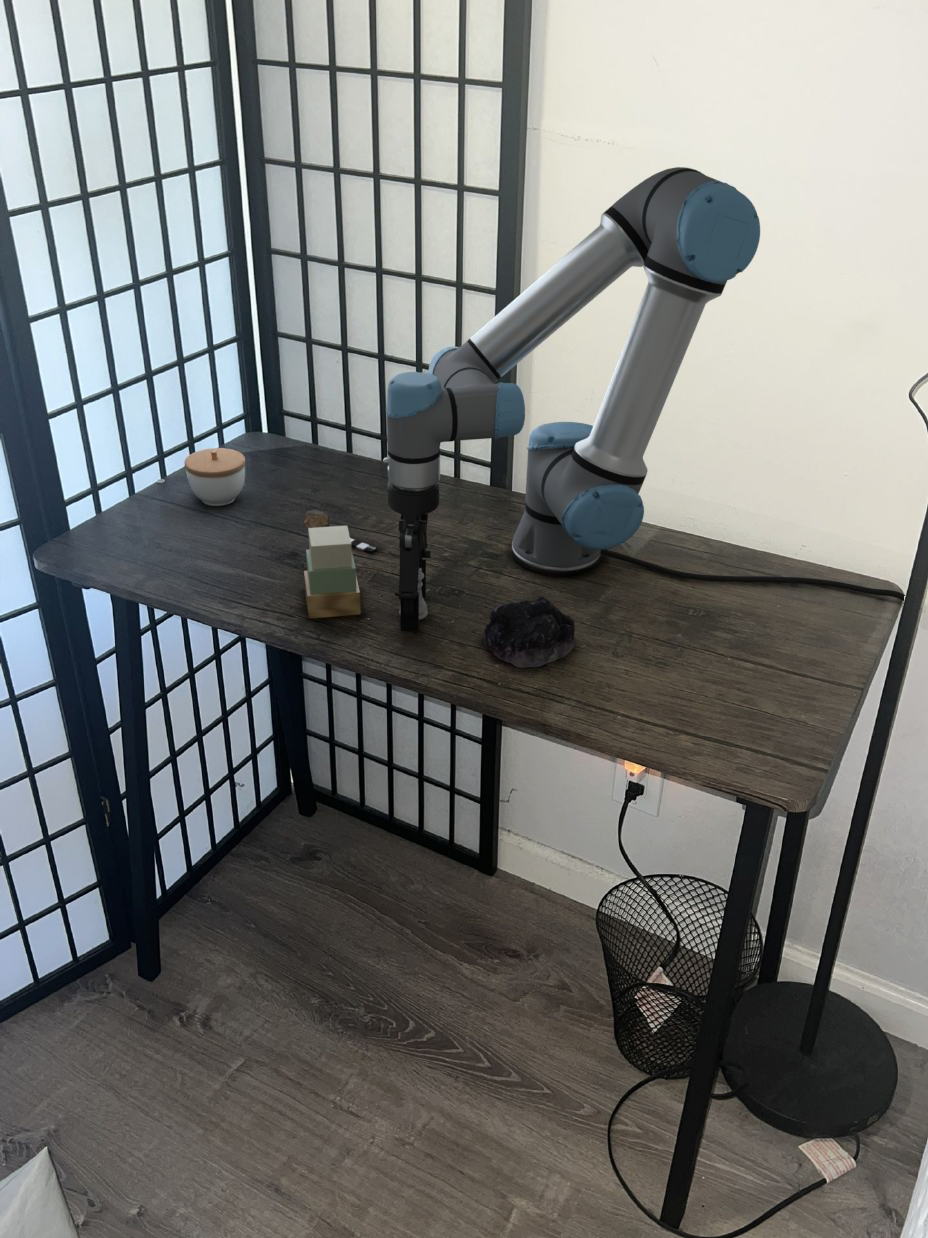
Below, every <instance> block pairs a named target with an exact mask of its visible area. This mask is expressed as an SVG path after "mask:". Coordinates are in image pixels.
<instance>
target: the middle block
mask: <svg viewBox="0 0 928 1238" xmlns="http://www.w3.org/2000/svg"><path fill="white" fill-rule="evenodd" d="M305 555H306V571H307V573H308V580H309V587H310V594H322V593H335V592H349V591H356V576H357V568H356V564H355V559H354V554H353V553H352V567H342V568H328V569H314V570H313V569H312V564H311V557H310V551H309V549H305Z"/></svg>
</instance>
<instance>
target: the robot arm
mask: <svg viewBox="0 0 928 1238" xmlns="http://www.w3.org/2000/svg"><path fill="white" fill-rule="evenodd" d="M760 239H761V222H760V217H759V215H758V212H757V209H756V207H755V205H754V203H753V202H752V201H751V200H750V198H749V197H747V196H746V195H745V194H744V193H743V192H741V191H739V190H738V189H737V188H736V187H735V186H734V185H731V184H728V182H724V181H720V180H718V179H717V178H713V177H710V176H708V175H706V174H705V173H703V172H701V171H699V170H697V169H694V168H691V167H685V166H684V167H683V166H675V167H670V168H666V169H663V170H660V171H659V172H657V173H654V174H652V175H651V176H649V177H647V178H645V179H644V180H643V181H641V182H639V183H638V184H637V185H635V186H634V187H632V188H631V189H630V190H628V191H627V192H626V193H625V194H624V195H623V196H621V197H620V198H618V200H616V201H615V202H614V203H613V204H612V205H611V206H610V207H608V208H607V209H606V210H605V211H604V212H603V213H601V214H600V221H599V225H598V226H597V227H596V228H595V229H594V230H593V231H592V232H590V233H589V234H588V235H587V236H586V237H585V238H583V239H582V240H581V241H580V242H579V243H578V244H577V245H575V246H574V247H573V248H571V250H569V251H568V252H567V253H566V254H565V255H564V256H563V257H562V258H561V259H559V260H558V261H556V262H555V264H554V265H553V266H551V267H550V268H548V269H547V271H545V272H544V273H543V274H542V275H541V276H540V277H539V278H538V279H536V280H535V281H534V282H533V283H532V284H531V285H529V286H527V288H526V289H525V290H524V291H522V293H520V294H519V295H518V296H517V297H516V298H515V299H513V300H512V301H510V303H509V304H507V305H506V307H504V308H502V310H501V311H499V312H498V313H497V314H496V315H494V317H493V318H491V319H490V320H489V321H488V322H487V323H485V324H484V325H483V326H482V327H481V328H480V329H479V330H478V331H476V332H475V333H474V334H473V335H472V336H470V338H469V339H468V340H466V341H465V342H464V343H462V345H460V346H447V347H446V348H445V347H444V348H442V349H440V350H439V351H437V352H436V353H435V354H434V355H433V357H432V358H431V361H430V362H429V365H428V372H425V371H423V372H418V371H406V372H402V373H398V374H396V375H395V376H393V377H391V378H390V380H389V381H388V384H387V387H386V389H387V391H386V406H385V412H386V438H387V439H386V443H387V444H386V445H387V450H386V451H387V457H384V458H383V460H382V463H383V464H384V465H386V466H387V479H388V481H387V505H388V507H389V508H390V509H391V510H392V511H393V512H395V513H398V514H400V519H398V531H399V538H398V540H399V545H398V546H399V575H398V576H399V578H398V580H399V581H398V584H399V585H398V591H395V592H394V596H395V597H398V599H399V600H400V601H399V611H400V614H399V615H400V618H399V620H400V621H399V623H400V624H399V625H400V632H407V633H419V631H420V621H419V593H418V573H419V569H420V568H421V569H422V573H423V574H424V578H423V579H422V580H421V582H422V583H423V585H422V587H421V590H422V597H423V599H425V598H426V596H427V592H426V591H427V559H431V550H426V549H427V547H429V546H428V545H429V544H428V535H427V533H428V522H429V521H428V520H429V514H431V513H432V512H434V511H435V510H437V508H439V505H440V482H439V481H440V479H441V443H447V442H449V443H450V442H459V441H472V440H473V441H474V440H489V439H495V440H498V439H499V438H505V437H513V436H517V435H518V434H520V433H521V432H522V430H523V428H524V425H525V420H526V405H525V403H526V402H525V398H524V394H523V392H522V389H521V388H520V386H519V385H518V384H516V383H514V382H510V383H509V382H502V381H501V382H498V381H499V380H500V379H502V377H503V376H504V375H506V374H507V373H508V372H509V371H511V369H513V368H514V367H515V366H516V365H517V364H519V363H520V362H521V361H522V360H523V359H525V358H526V357H527V356H528V355H530V354H531V353H532V352H533V351H534V350H535V349H536V348H538V347H539V346H540V345H541V344H543V342H544V341H546V340H547V339H548V338H549V337H550V336H552V335H553V334H555V332H556V331H558V330H559V329H560V328H561V327H562V326H563V325H565V324H566V323H567V322H568V321H570V319H572V318H573V317H574V316H575V315H576V314H578V313H579V312H580V311H581V310H582V309H583V308H585V307H586V306H587V305H588V304H589V303H591V302H592V301H593V300H594V299H596V298H597V297H598V296H599V295H600V294H602V292H604V291H605V290H606V289H607V288H608V287H609V286H611V285H612V284H613V283H614V282H615V281H616V280H618V279H619V278H620V277H621V276H622V275H624V274H625V273H626V272H628V270H630V269H631V268H633V267H636V268H637V267H638V268H643V270H644V272H645V275H646V277H647V281H648V283H647V285H646V288H645V291H644V293H643V296H642V298H641V301H640V303H639V306H638V309H637V311H636V314H635V315H634V319H633V322H632V324H631V327H630V329H629V332H628V335H627V337H626V340H625V342H624V345H623V347H622V350H621V353H620V355H619V357H618V361H617V363H616V366H615V368H614V371H613V373H612V376H611V379H610V381H609V383H608V387H607V388H606V391H605V394H604V397H603V400H602V401H601V404H600V407H599V410H598V412H597V414H596V418H595V420H594V422H593V425H591V424H589V423H584V422H577V421H556V422H547V423H543V424H541V425H538V426H536V427H534V428H533V429H532V430H531V432H530V434H529V437H528V439H529V440H528V446H527V447H526V450H527V460H526V461H527V463H526V464H527V465H526V481H525V482H526V483H525V502H524V512H523V513H522V517H521V519H520V521H519V524H518V526H517V528H516V530H515V533H514V535H513V538H512V542H511V556H512V558H513V560H515V562H516V563H517V564H518V565H520V566H522V567H523V568H525V569H526V570H529V571H530V572H531V571H532V572H535V573H538V574H542V575H546V576H555V577H566V576H567V577H568V576H576V575H580V574H583V573H587V572H590V571H591V570H593V569H595V568H596V567H597V566H598V565H599V564H600V563H601V560H602V556H607V557H610V558H612V559H617V560H620V561H623V562H627V563H628V564H633V565H636V566H639V567H642V568H646V569H649V570H652V571H655V572H658V573H661V574H664V575H668V576H670V577H671V576H672V577H675V578H676V577H677V578H681V579H686V580H694V581H702V582H721V583H723V582H724V583H773V584H774V583H776V584H800V585H801V584H802V585H815V586H823V587H830V588H837V589H843V590H848V591H852V592H858V593H861V594H866V595H873V596H884V597H885V596H886V597H892V598H896V599H898V600H901V601H902V602H903V601H904V596H905V595H906V594H904V593H902V592H900V591H897V590H893V589H883V588H872V587H866V586H862V585H857V584H852V583H847V582H843V581H842V582H841V581H836V580H831V579H830V580H828V579H823V578H814V577H813V578H811V577H797V576H767V575H765V576H763V575H762V576H761V575H759V576H758V575H756V576H754V575H753V576H752V575H751V576H749V575H748V576H746V575H745V576H743V575H742V576H741V575H717V574H700V573H692V572H686V571H681V570H675V569H671V568H668V567H664V566H661V565H658V564H655V563H652V562H649V561H646V560H643V559H639V558H636V557H632V556H630V555H626V554H623V553H619V552H617V551H614V550H610V549H613V548H616V547H617V546H618V545H620V544H624V543H626V542H627V541H629V540H630V539H631V538H632V537H633V536H634V535H635V534H636V532H637V531H638V530H639V528H640V526H641V525H642V523H643V520H644V517H645V507H644V501H643V499H642V496H641V495H640V491H641V489H642V486H643V485H644V482H645V480H646V477H647V475H648V471H649V470H648V468H647V464H646V463H645V461H644V455H645V453H646V451H647V448H648V445H649V443H650V440H651V438H652V435H653V433H654V431H655V429H656V426H657V423H658V421H659V418H660V416H661V414H662V411H663V409H664V407H665V404H666V402H667V400H668V397H669V394H670V393H671V389H672V387H673V385H674V382H675V379H676V377H677V375H678V373H679V371H680V368H681V366H682V363H683V360H684V358H685V356H686V353H687V351H688V348H689V346H690V344H691V341H692V339H693V336H694V333H695V332H696V329H697V326H698V324H699V321H700V319H701V317H702V315H703V312H704V310H705V307H706V305H707V304H708V303H709V302H711V301H713V300H715V299H716V298H719V297H721V296H722V295H723V293H724V289H725V288H726V285H727V282H728V281H730V280H733V279H734V278H736V276H738V275H739V274H740V273H743V272H744V271H745V270H746V269H747V268H748V267H749V265H751V262H752V261H753V259H754V257H755V255H756V253H757V251H758V247H759V243H760ZM497 382H498V383H497Z"/></svg>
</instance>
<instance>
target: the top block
mask: <svg viewBox="0 0 928 1238" xmlns="http://www.w3.org/2000/svg"><path fill="white" fill-rule="evenodd" d="M307 529H308V550H309V551H310V557H311V564H312V569H313V570H314V569H328V568H342V567H352V554H353V550H352V546H351V540H350V538H351V537H350V536H351V535H350V532H349V527H348V525H336V526H334V525H333V526H329V527H318V528H307Z"/></svg>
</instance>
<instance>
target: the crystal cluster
mask: <svg viewBox="0 0 928 1238" xmlns="http://www.w3.org/2000/svg"><path fill="white" fill-rule="evenodd" d="M488 613H489V614H488V618H489V622H488V623H487V624H486V625H485V627H484V628H483V643H484V645H485V647H486V648H487V649H488V650H489V651H490V652H491V653H493V654H494V656H495V657H497V658H498V659H500V660H502V661H503V662H506V663H508V664H511V665H513V666H514V667H516V668H521V669H525V668H538V667H542V666H544V665H546V664H549V663H552V662H555V661H557V660H560V659H562V658H564V657H565V656H567V655H568V654H570V652H571V651H573V648H574V647H575V633H576V632H575V631H576V630H575V621H574V618H572V617H571V616H570V615H567V614H565V613H563V612H562V611H561V610H560V609H559V608H557V606H556V605H554V604H553V603H552V602H551V601H550V600H548V599H547V598H546V596H543V595H542V596H539V597H537V598H535V599H534V600H530V599H525V600H520V601H514V602H509V603H505V604H502V605H499V606H496V607H493V608H492V609H490V611H489V612H488Z"/></svg>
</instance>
